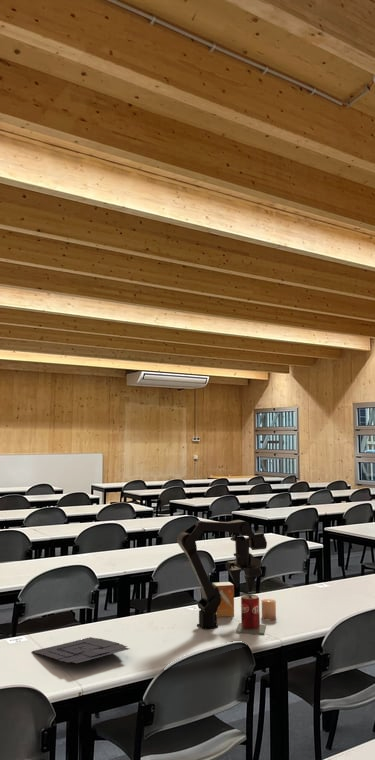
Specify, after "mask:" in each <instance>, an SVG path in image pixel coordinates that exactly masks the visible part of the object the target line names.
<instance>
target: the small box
mask: <svg viewBox="0 0 375 760" xmlns="http://www.w3.org/2000/svg"><path fill="white" fill-rule="evenodd" d="M211 584H213V585H215V586H217V587H218V590H219V593H220V594H221V595H222V596H220V597H221V603H220V605H219V606H218V609H217V612H216V614H217V618H219V617H234V616H235V584H234V583H232V582H230V581H221V582H220V581H219V582H212V583H211Z"/></svg>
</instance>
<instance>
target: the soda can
mask: <svg viewBox="0 0 375 760" xmlns="http://www.w3.org/2000/svg"><path fill="white" fill-rule="evenodd" d="M260 612H261V611H260V597H259V596H258V595H256V594H243V595H242V596H241V597H240V613H241V615H240V617H241V619H240V620H241V622H240V623H241V626H242V628H243V629H245V630H257V629H259V627H260V624H261V623H260V622H261V619H260V615H261V614H260Z"/></svg>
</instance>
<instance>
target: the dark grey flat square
mask: <svg viewBox="0 0 375 760" xmlns="http://www.w3.org/2000/svg"><path fill="white" fill-rule="evenodd" d="M81 639H82V638H81ZM81 639H78V640H73V641H70V642H66V643H61V644H57V645H53V646H49V647H44V648H40V649H36V650H31V652H32V653H35V654H39V655H42V656H45V657H49V658H52V659H54V660H56V661H60V662H65V663H71V662H72V663H75V664H79V663H83V662H87V661H90V660H93V659H97V658H101V657H105V656H108V655H113V654H116V653H120V652H124V651H128V650H130V648H128V647H129V646H127V645H124V644H122V643H119V642H117V641H111V640H108V639H104V638H98V637H97V638H96V637H91V636H90V637H85V638H83V639H82V640H81Z"/></svg>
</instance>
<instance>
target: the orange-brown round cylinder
mask: <svg viewBox="0 0 375 760" xmlns="http://www.w3.org/2000/svg"><path fill="white" fill-rule="evenodd" d="M276 603H277V602H276V600H275V599H271V598H270V599H269V598H266V599H265V598H264V599H262V600H261V619H262V620H266V621H274V620H276V619H277V610H276V609H277V608H276V607H277V604H276Z"/></svg>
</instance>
